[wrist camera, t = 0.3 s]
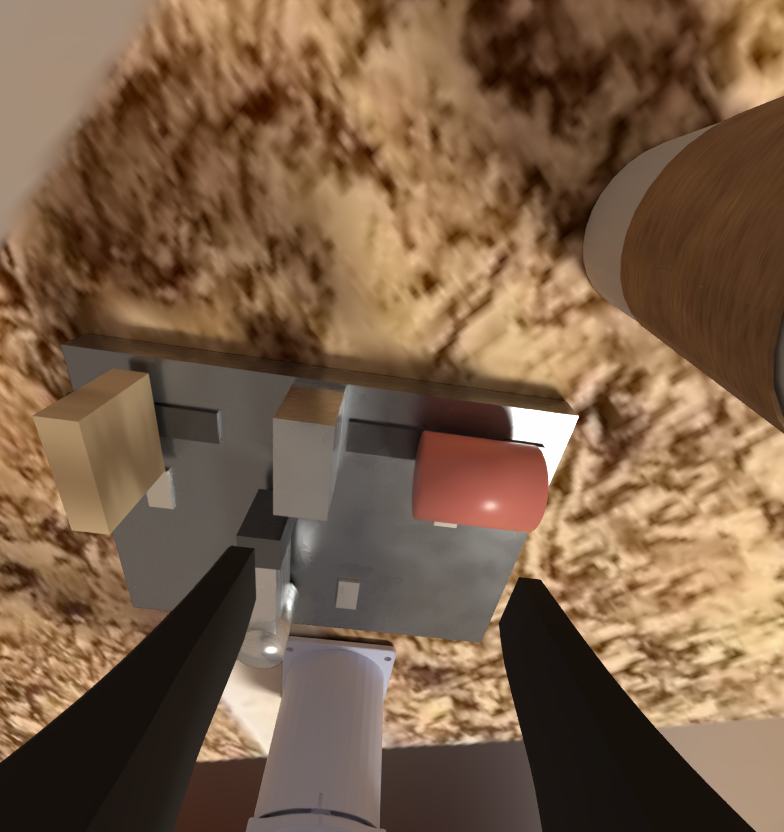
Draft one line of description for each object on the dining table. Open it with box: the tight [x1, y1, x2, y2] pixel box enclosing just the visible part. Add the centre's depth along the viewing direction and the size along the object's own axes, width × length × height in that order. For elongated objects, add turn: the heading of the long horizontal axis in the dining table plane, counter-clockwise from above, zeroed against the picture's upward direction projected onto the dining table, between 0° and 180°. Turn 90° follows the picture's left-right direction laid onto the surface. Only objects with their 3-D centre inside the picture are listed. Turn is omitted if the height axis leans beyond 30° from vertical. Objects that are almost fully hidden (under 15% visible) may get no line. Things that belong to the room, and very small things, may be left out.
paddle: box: [33, 368, 165, 534], centre depth 15 cm, size 5×1×4 cm, turn 172°
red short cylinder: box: [412, 431, 549, 533], centre depth 16 cm, size 4×5×4 cm
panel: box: [61, 334, 579, 642], centre depth 20 cm, size 17×22×5 cm
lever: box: [236, 489, 299, 668], centre depth 19 cm, size 9×2×4 cm, turn 172°
